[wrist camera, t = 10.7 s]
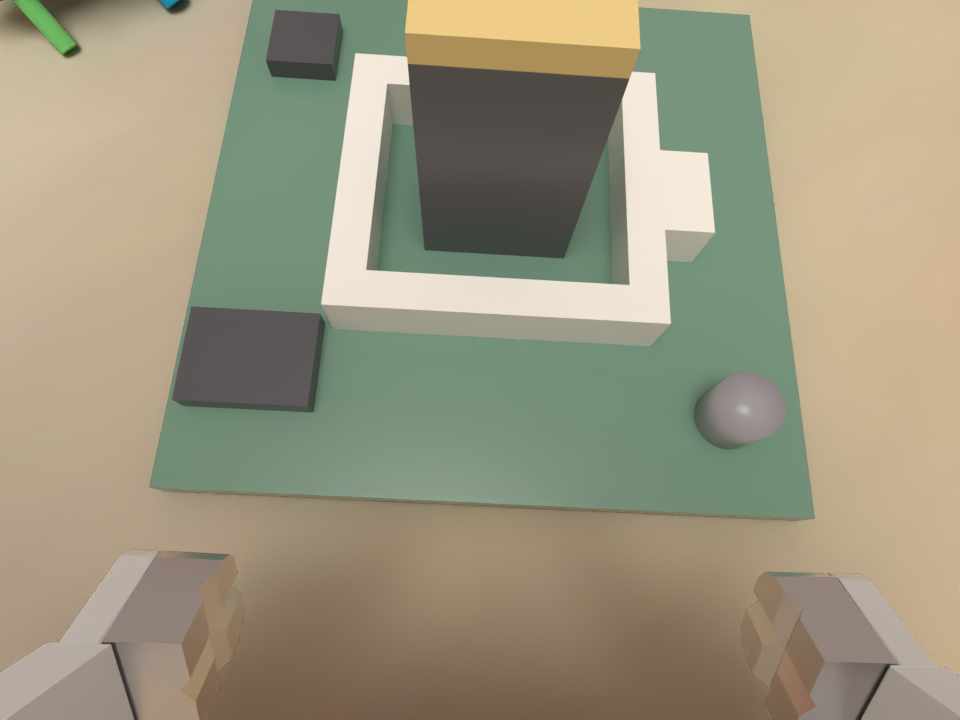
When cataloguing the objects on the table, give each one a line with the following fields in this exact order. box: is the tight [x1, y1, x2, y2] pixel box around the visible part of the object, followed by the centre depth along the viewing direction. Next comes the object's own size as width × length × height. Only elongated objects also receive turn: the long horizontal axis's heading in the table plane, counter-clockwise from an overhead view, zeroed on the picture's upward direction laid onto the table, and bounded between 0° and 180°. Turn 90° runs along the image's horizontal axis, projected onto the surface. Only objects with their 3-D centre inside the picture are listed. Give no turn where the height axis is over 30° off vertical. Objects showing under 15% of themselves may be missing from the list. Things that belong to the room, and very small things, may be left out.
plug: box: [405, 0, 641, 259], centre depth 17 cm, size 5×3×9 cm
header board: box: [149, 0, 815, 521], centre depth 21 cm, size 20×20×3 cm
